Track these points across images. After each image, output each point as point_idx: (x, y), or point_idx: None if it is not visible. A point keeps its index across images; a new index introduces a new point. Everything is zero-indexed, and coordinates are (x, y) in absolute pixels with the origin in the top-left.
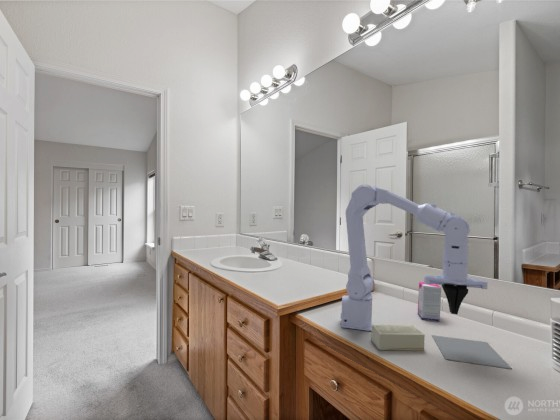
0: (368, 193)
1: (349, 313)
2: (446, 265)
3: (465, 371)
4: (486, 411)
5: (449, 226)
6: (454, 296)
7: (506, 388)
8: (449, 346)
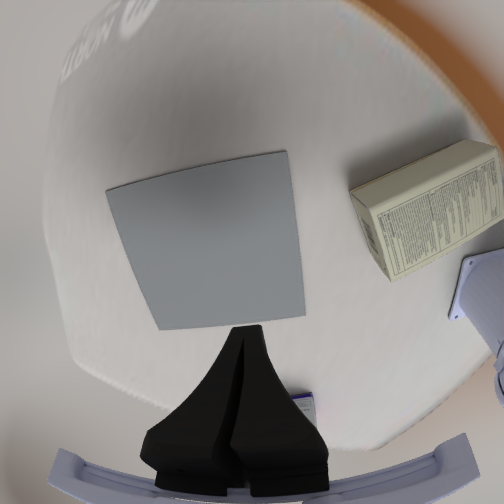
0: None
1: None
2: None
3: (231, 96)
4: None
5: None
6: (248, 405)
7: (136, 62)
8: (262, 257)
